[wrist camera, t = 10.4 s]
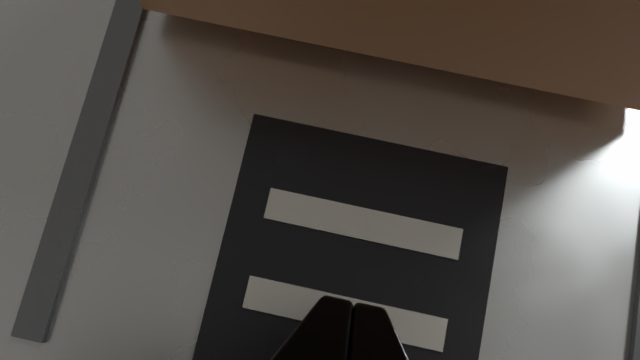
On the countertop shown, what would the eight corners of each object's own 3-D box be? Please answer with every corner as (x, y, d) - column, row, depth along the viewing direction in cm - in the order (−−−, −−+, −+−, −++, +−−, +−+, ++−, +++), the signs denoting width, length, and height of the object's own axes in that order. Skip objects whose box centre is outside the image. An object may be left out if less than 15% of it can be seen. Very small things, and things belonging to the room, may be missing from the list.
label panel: (611, 672, 12) (639, 707, 11) (-694, 356, 14) (-780, 361, 13) (674, 59, 15) (700, 41, 14) (-413, -158, 16) (-464, -191, 15)
